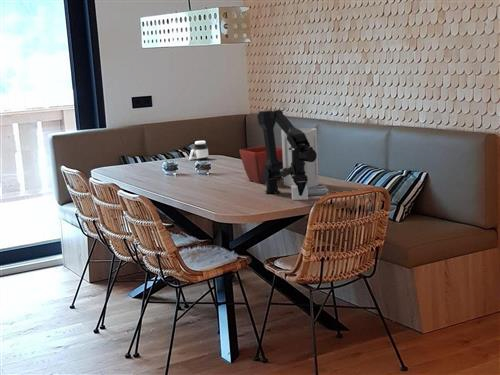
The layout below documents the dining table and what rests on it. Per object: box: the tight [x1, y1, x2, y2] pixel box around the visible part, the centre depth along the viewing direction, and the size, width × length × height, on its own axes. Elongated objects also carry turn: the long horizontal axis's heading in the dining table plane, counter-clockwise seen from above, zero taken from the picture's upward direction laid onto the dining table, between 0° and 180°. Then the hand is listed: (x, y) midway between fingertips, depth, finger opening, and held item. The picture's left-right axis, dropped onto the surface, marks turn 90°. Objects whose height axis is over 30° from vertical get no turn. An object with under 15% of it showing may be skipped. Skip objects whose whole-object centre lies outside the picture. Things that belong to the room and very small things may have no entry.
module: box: [290, 185, 309, 201], centre depth 355 cm, size 5×7×7 cm
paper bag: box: [280, 128, 320, 188], centre depth 384 cm, size 19×15×28 cm
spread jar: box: [188, 140, 209, 161], centre depth 493 cm, size 12×11×12 cm
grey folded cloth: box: [308, 185, 329, 197], centre depth 366 cm, size 10×15×4 cm, turn 92°
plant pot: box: [239, 145, 283, 184], centre depth 405 cm, size 19×19×17 cm
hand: (299, 193), depth 355 cm, fingers open, 9 cm apart
